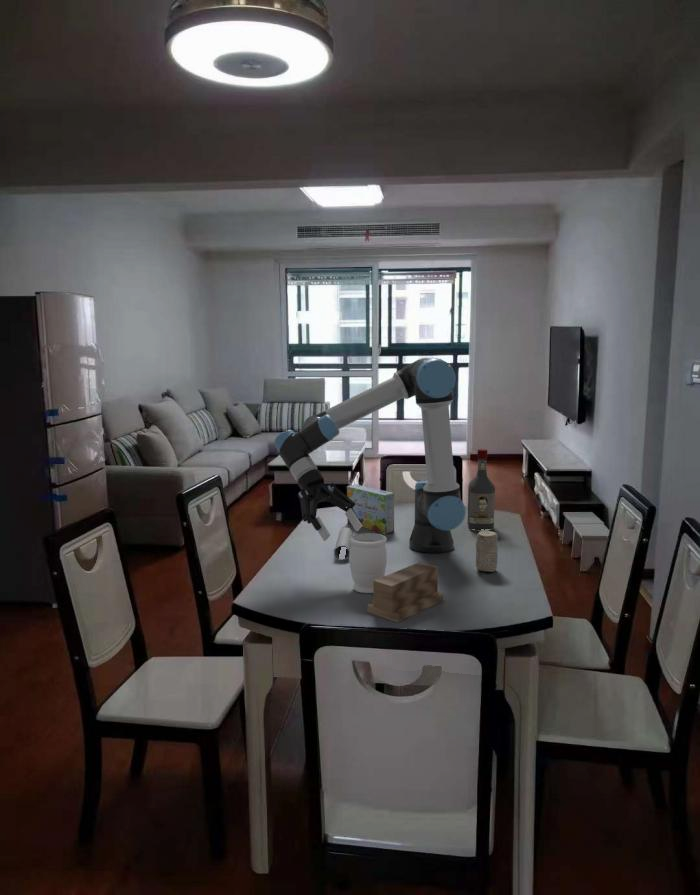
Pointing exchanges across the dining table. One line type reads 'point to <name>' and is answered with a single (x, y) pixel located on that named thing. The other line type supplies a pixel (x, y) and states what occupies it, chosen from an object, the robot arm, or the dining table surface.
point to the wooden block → (405, 592)
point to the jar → (367, 560)
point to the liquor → (481, 497)
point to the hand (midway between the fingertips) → (343, 533)
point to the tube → (343, 542)
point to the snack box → (373, 508)
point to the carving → (486, 551)
